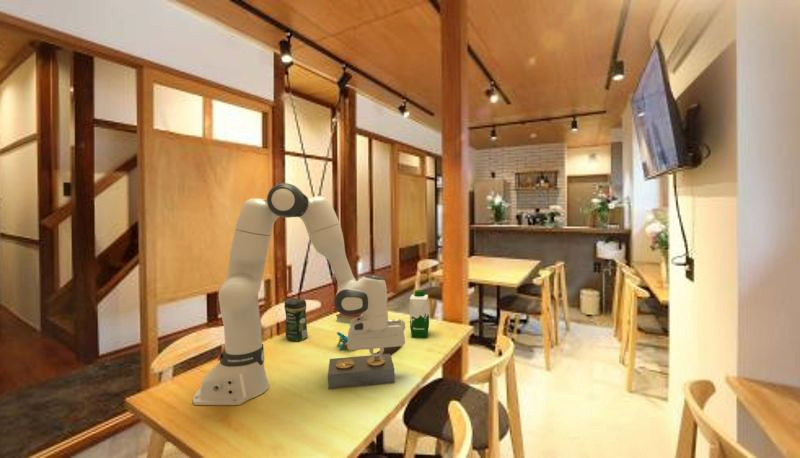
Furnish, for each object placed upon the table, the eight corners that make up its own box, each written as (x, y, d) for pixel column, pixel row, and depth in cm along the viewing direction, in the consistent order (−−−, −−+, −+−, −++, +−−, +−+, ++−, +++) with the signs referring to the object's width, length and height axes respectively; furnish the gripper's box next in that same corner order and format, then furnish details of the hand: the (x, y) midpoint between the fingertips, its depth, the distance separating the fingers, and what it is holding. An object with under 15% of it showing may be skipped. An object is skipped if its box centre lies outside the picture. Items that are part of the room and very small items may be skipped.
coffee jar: (282, 339, 161) (280, 299, 160) (296, 333, 168) (294, 295, 166) (297, 343, 156) (295, 302, 154) (310, 337, 163) (309, 297, 161)
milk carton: (429, 331, 166) (429, 289, 164) (428, 339, 157) (427, 294, 155) (411, 331, 167) (410, 289, 165) (409, 338, 158) (408, 294, 156)
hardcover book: (350, 315, 194) (349, 308, 194) (382, 321, 184) (381, 313, 184) (336, 322, 184) (335, 314, 184) (369, 328, 173) (368, 320, 173)
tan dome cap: (367, 377, 120) (367, 364, 120) (367, 369, 127) (366, 356, 126) (386, 376, 121) (386, 363, 121) (384, 367, 127) (384, 355, 127)
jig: (328, 389, 116) (327, 372, 115) (330, 372, 128) (329, 356, 127) (394, 382, 119) (394, 366, 118) (390, 366, 131) (390, 351, 130)
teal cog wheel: (361, 346, 147) (344, 332, 143) (353, 358, 144) (335, 345, 141) (351, 341, 156) (334, 328, 153) (343, 353, 154) (326, 340, 150)
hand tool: (380, 364, 133) (380, 352, 133) (372, 362, 135) (372, 350, 135) (407, 347, 149) (406, 336, 149) (399, 345, 151) (398, 334, 151)
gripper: (403, 316, 127) (404, 353, 128) (346, 320, 124) (347, 358, 125) (406, 321, 121) (407, 360, 122) (346, 326, 118) (347, 366, 119)
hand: (376, 359), depth 124 cm, fingers closed
